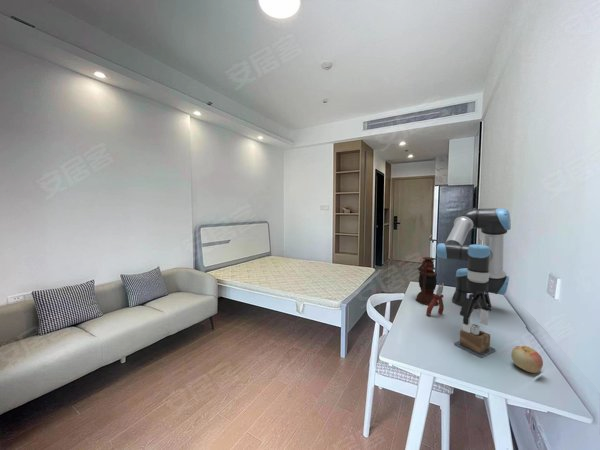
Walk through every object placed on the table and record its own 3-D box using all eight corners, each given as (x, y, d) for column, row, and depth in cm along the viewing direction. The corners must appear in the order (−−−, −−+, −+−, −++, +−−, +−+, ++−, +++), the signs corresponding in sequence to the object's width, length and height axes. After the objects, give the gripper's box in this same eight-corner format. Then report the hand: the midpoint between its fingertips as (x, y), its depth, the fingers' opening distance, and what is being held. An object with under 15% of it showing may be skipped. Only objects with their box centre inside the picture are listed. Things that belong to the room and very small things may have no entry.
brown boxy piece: (469, 339, 112) (470, 326, 112) (489, 347, 105) (490, 334, 104) (459, 343, 108) (460, 330, 108) (479, 352, 101) (480, 339, 101)
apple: (527, 362, 97) (529, 343, 96) (549, 377, 88) (550, 356, 87) (504, 361, 97) (505, 342, 97) (523, 376, 88) (525, 355, 88)
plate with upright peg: (468, 339, 114) (469, 318, 113) (495, 351, 104) (496, 328, 104) (454, 344, 109) (455, 323, 108) (481, 358, 99) (482, 334, 99)
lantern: (434, 309, 148) (436, 261, 146) (411, 303, 158) (412, 258, 156) (442, 301, 161) (443, 257, 159) (420, 296, 170) (421, 254, 169)
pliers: (436, 284, 133) (432, 282, 135) (428, 317, 137) (424, 314, 139) (450, 283, 137) (446, 281, 139) (443, 314, 141) (439, 312, 143)
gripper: (483, 274, 114) (481, 317, 115) (451, 282, 102) (449, 330, 104) (502, 278, 107) (500, 324, 109) (470, 287, 96) (468, 338, 97)
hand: (475, 327), depth 106 cm, fingers open, 13 cm apart
